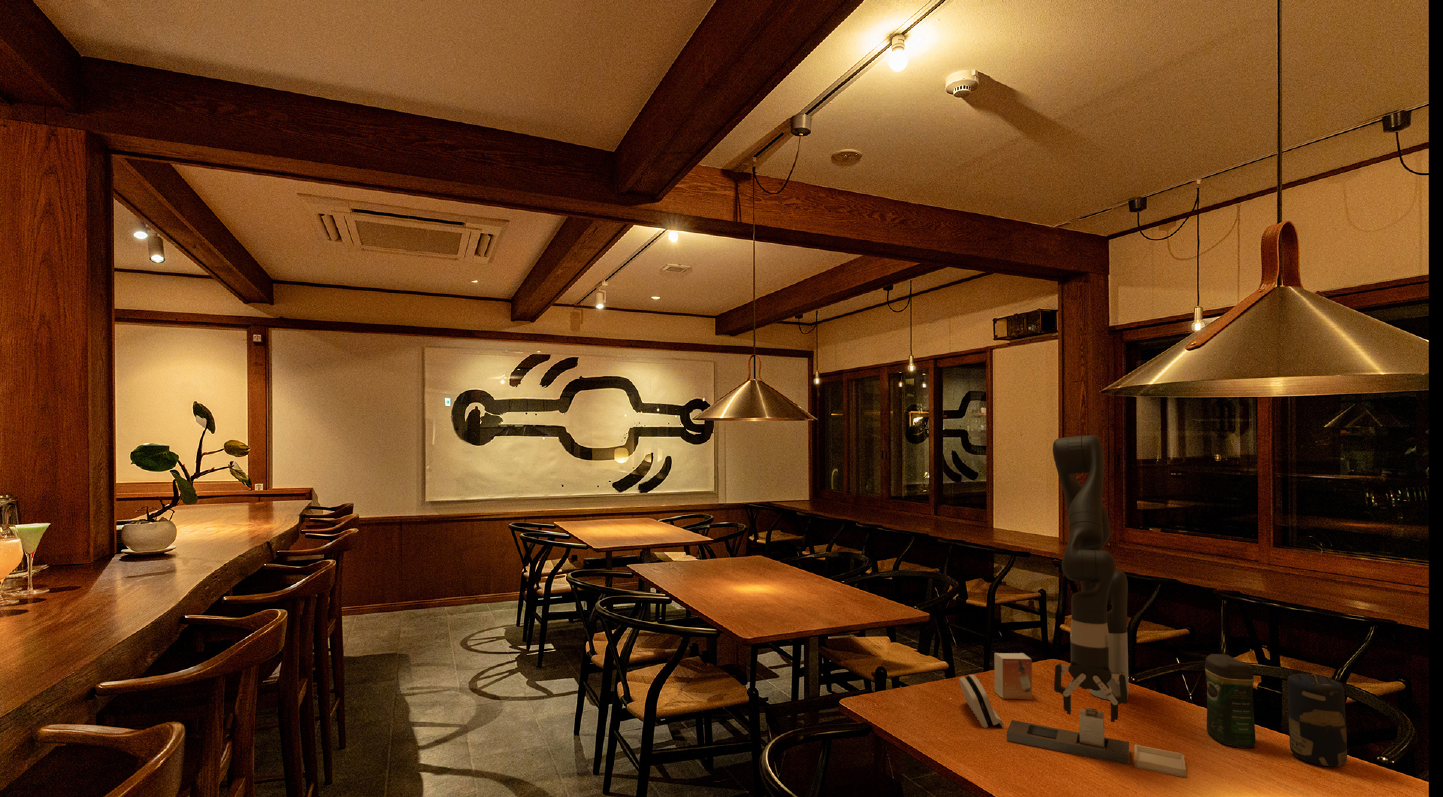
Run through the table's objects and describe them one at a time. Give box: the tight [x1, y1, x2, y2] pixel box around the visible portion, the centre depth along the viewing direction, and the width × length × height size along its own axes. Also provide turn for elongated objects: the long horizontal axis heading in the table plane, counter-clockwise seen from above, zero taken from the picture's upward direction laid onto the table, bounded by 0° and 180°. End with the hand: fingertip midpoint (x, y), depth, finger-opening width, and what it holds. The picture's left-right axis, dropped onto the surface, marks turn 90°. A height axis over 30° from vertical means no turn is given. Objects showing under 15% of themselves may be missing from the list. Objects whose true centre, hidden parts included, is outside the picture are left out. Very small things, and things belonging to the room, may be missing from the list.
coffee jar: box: [1204, 653, 1257, 749], centre depth 165 cm, size 10×8×19 cm
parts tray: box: [1134, 744, 1187, 779], centre depth 152 cm, size 9×9×2 cm
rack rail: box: [1006, 719, 1130, 766], centre depth 160 cm, size 8×24×2 cm, turn 60°
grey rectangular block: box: [1078, 707, 1106, 749], centre depth 158 cm, size 5×5×9 cm
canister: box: [1286, 673, 1348, 767], centre depth 155 cm, size 10×10×18 cm
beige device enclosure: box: [958, 674, 1006, 729], centre depth 179 cm, size 17×5×10 cm, turn 174°
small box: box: [994, 652, 1033, 700], centre depth 192 cm, size 8×6×10 cm
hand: (1090, 717), depth 158 cm, fingers open, 8 cm apart
